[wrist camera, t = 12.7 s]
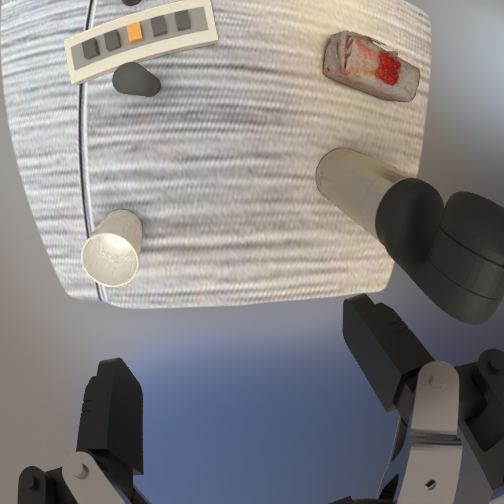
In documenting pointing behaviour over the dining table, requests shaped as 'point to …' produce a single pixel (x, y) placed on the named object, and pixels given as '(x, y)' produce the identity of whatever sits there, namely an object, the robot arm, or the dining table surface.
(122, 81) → the dark grey cylinder rod
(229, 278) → the dining table surface
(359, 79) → the food item
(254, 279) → the dining table surface
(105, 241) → the white cup
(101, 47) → the breaker panel
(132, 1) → the dark grey post
